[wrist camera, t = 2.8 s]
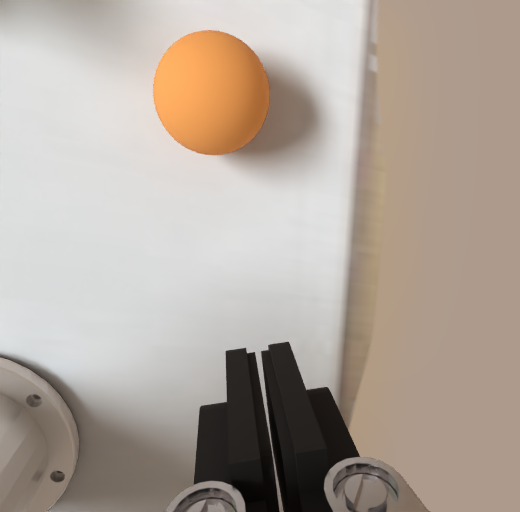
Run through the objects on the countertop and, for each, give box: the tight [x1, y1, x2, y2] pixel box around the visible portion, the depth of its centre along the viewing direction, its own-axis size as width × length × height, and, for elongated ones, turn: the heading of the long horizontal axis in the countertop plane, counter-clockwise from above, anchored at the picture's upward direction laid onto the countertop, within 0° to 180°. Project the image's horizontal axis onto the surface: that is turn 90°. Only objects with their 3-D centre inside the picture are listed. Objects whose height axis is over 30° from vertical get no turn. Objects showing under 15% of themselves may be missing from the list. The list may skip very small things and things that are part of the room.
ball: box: [153, 30, 270, 155], centre depth 19 cm, size 6×6×6 cm
